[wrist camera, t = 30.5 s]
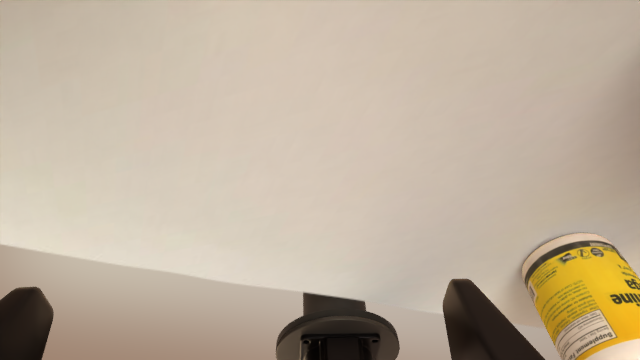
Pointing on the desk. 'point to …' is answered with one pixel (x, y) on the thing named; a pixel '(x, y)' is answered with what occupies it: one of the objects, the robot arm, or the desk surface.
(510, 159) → the desk surface
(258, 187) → the desk surface
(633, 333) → the pill bottle
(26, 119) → the desk surface
